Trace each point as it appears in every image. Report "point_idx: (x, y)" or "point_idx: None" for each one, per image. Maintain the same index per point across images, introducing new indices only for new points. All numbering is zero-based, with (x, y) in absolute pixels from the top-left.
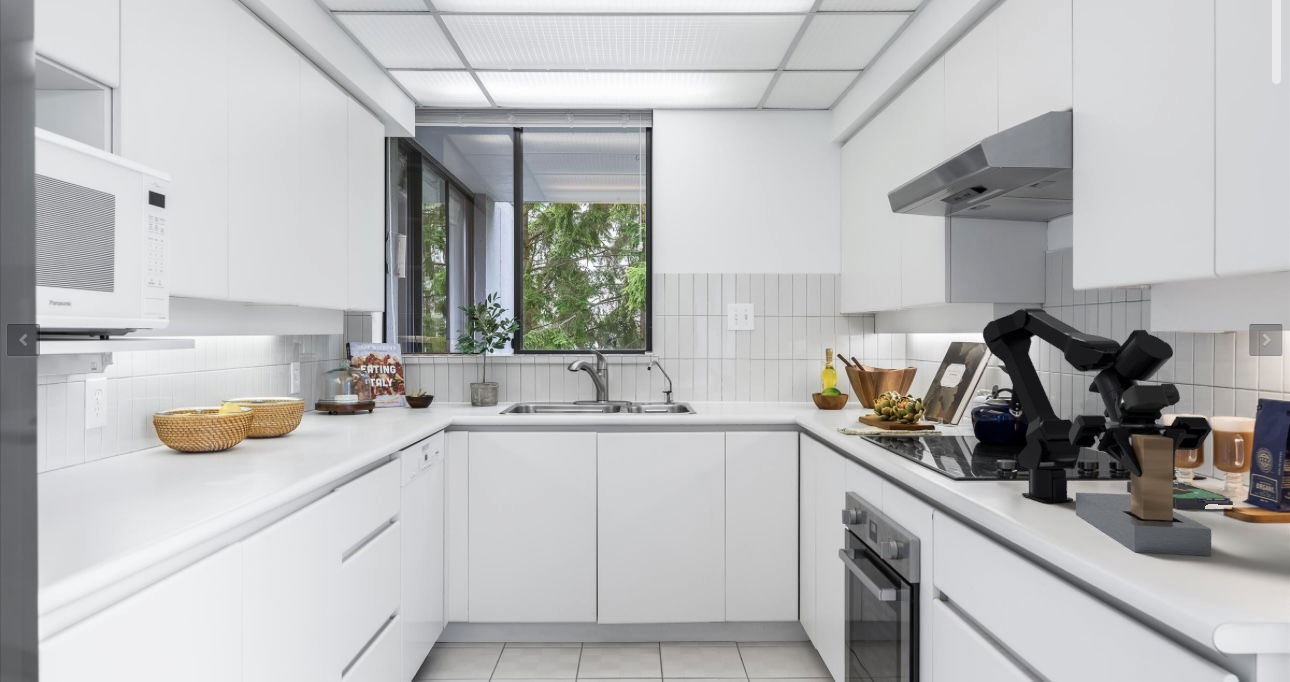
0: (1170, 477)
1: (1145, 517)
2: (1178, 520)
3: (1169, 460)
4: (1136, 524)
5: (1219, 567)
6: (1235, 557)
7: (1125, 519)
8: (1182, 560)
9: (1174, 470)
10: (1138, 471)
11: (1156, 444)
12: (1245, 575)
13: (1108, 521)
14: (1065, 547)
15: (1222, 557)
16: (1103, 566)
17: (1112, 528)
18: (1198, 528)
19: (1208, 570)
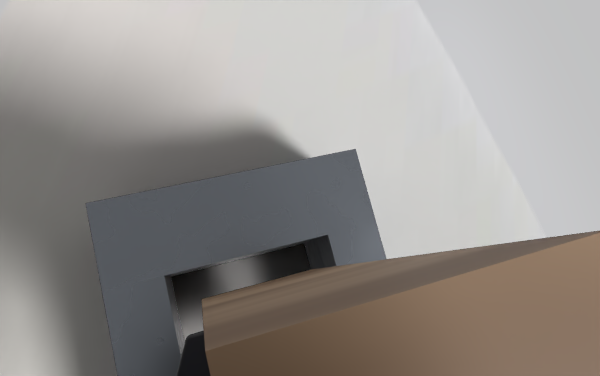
0: (218, 304)
1: (305, 271)
2: (174, 324)
3: (235, 310)
4: (346, 169)
5: (126, 98)
6: (28, 237)
7: (373, 237)
8: (212, 135)
9: (180, 361)
10: None
11: (414, 274)
12: (79, 41)
13: None
14: (490, 154)
15: (75, 219)
16: (413, 13)
17: None
18: (135, 194)
19: (168, 58)
